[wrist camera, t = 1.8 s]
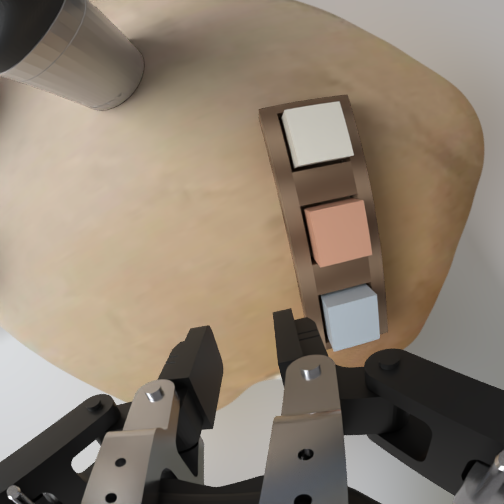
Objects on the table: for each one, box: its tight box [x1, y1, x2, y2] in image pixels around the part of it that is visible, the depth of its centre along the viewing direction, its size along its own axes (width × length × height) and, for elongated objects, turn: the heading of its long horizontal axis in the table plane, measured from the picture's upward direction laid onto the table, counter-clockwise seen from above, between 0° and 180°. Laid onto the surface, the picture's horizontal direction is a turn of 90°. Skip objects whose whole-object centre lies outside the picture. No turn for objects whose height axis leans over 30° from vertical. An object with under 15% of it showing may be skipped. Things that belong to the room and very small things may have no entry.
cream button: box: [281, 101, 354, 168], centre depth 25 cm, size 5×5×4 cm
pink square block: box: [303, 198, 372, 268], centre depth 27 cm, size 5×5×4 cm
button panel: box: [259, 95, 388, 350], centre depth 29 cm, size 25×9×4 cm, turn 14°
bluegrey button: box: [320, 283, 380, 351], centre depth 28 cm, size 5×5×4 cm
